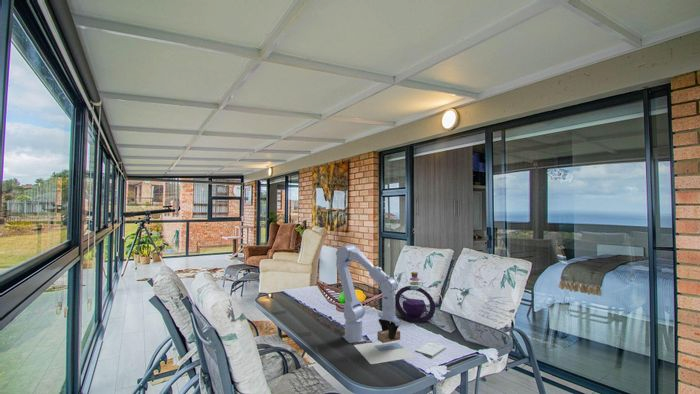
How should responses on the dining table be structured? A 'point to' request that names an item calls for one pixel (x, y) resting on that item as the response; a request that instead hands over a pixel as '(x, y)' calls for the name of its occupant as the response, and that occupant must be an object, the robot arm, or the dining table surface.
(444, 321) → the dining table surface
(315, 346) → the dining table surface
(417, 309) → the decorative bottle
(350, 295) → the robot arm
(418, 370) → the dining table surface
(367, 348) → the mat
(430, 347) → the external hard drive
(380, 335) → the cardboard box
